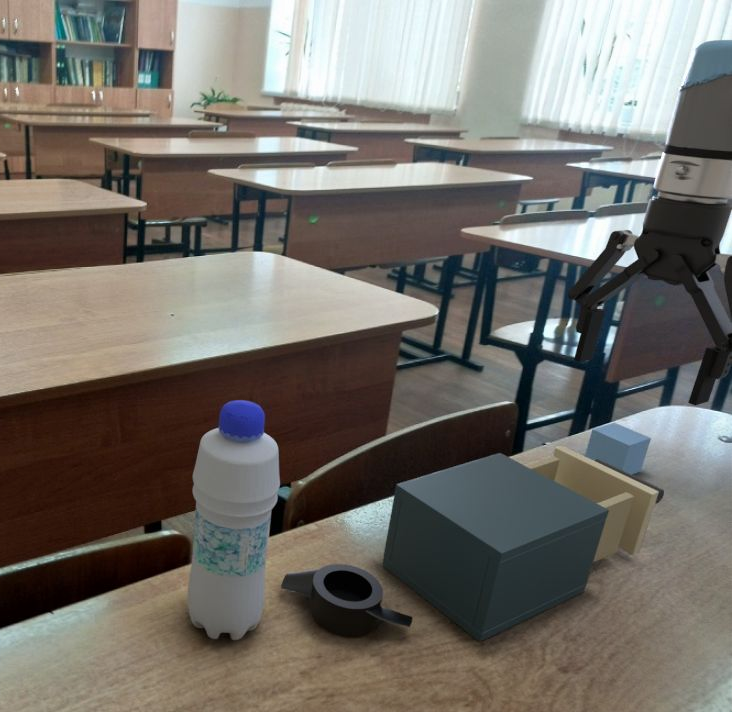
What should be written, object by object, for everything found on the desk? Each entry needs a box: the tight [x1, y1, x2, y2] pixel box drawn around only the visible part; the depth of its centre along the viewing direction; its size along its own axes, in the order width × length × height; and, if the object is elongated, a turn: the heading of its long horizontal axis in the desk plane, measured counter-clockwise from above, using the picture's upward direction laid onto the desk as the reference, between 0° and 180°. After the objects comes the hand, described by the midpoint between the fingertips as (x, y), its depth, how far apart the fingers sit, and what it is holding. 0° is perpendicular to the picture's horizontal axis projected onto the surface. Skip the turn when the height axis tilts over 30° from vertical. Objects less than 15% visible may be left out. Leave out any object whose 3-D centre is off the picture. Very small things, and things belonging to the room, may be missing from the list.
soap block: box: [584, 422, 652, 475], centre depth 89 cm, size 5×5×5 cm
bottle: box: [187, 399, 281, 641], centre depth 57 cm, size 7×7×20 cm
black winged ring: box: [280, 563, 413, 639], centre depth 62 cm, size 8×10×3 cm
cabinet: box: [381, 452, 609, 643], centre depth 66 cm, size 14×11×9 cm
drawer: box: [523, 445, 665, 563], centre depth 72 cm, size 18×10×7 cm, turn 120°
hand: (636, 380), depth 86 cm, fingers open, 13 cm apart
